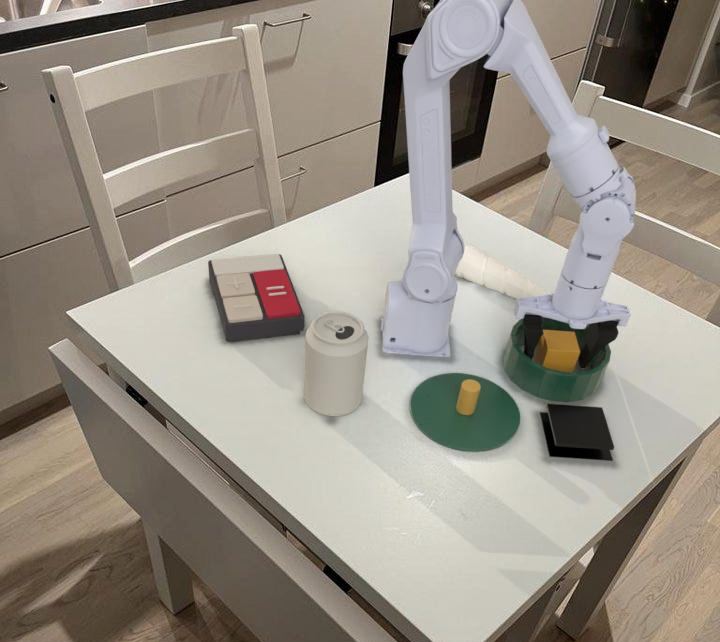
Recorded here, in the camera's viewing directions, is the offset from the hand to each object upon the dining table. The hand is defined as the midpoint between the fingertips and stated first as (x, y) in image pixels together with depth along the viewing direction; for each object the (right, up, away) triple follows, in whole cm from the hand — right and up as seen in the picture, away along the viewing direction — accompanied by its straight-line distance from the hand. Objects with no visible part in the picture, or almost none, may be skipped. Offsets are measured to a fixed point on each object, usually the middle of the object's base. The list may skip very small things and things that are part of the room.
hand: (554, 362), depth 101 cm
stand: (+1, -11, -7) cm, 13 cm away
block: (0, -1, +1) cm, 1 cm away
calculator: (-42, +9, +6) cm, 43 cm away
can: (-30, -6, -6) cm, 31 cm away
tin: (0, -1, +1) cm, 2 cm away
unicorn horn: (-2, +12, +13) cm, 18 cm away
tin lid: (-13, -7, -6) cm, 16 cm away
